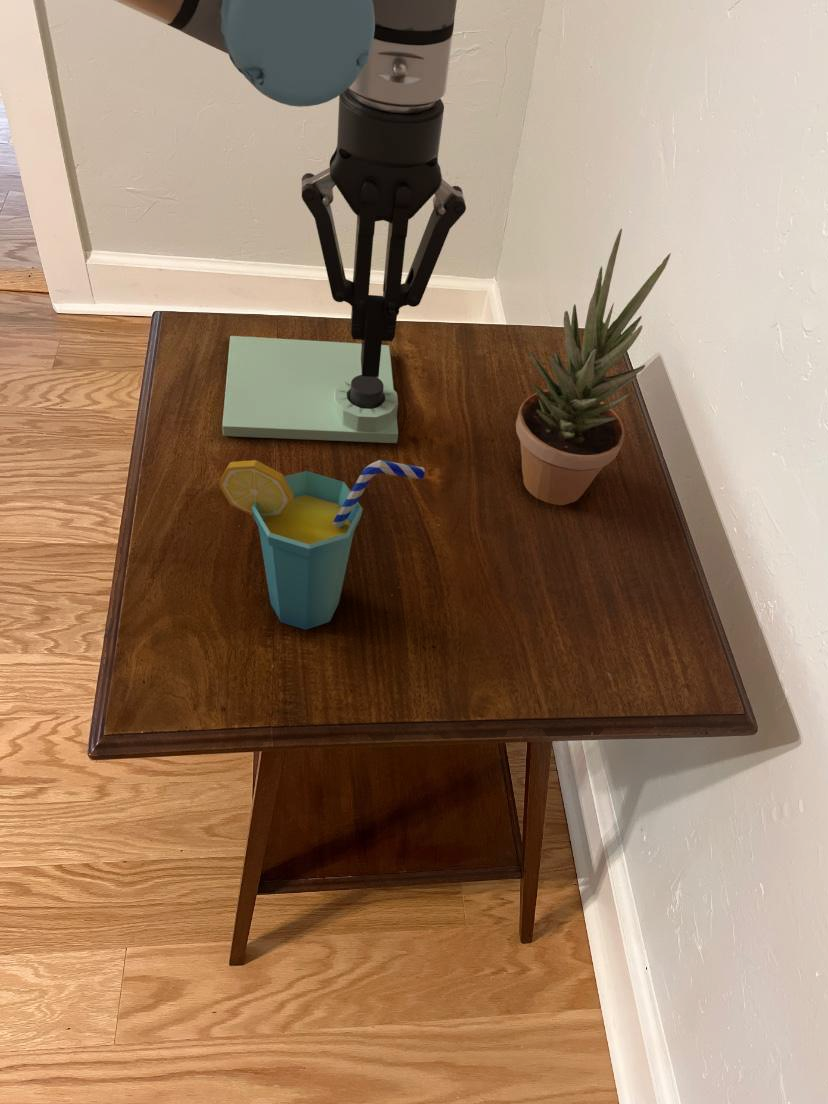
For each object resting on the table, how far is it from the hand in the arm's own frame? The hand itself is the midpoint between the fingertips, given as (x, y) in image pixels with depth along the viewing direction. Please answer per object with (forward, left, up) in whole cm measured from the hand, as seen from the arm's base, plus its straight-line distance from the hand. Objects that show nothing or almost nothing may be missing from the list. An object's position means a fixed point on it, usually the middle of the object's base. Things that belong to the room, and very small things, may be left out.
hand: (369, 367), depth 82 cm
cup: (+5, -23, -6) cm, 24 cm away
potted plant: (+19, 0, -6) cm, 20 cm away
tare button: (0, 0, -4) cm, 4 cm away
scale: (-6, +1, -6) cm, 9 cm away
